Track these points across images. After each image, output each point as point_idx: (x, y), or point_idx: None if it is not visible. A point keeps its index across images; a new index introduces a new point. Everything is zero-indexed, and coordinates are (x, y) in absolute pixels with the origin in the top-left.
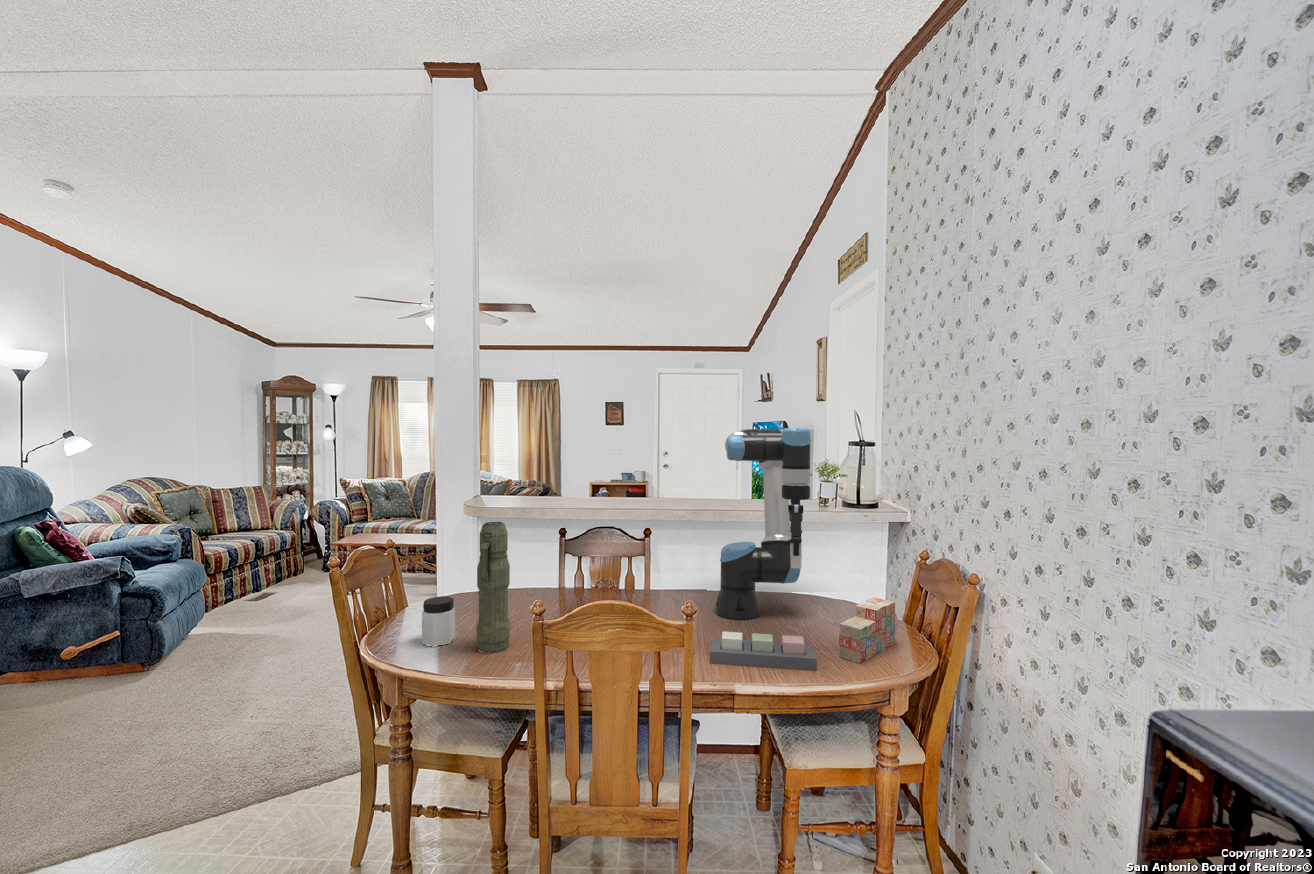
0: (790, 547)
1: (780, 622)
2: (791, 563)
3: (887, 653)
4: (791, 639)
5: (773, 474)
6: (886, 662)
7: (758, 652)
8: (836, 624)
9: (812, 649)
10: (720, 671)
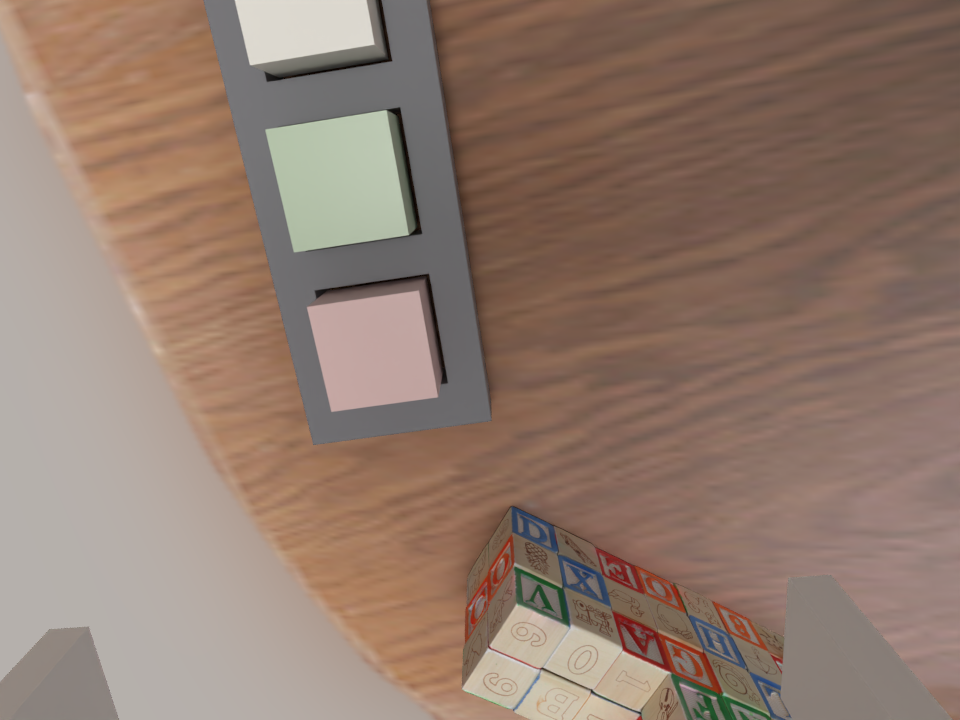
0: (872, 701)
1: (945, 213)
2: (11, 685)
3: None
4: (369, 345)
5: None
6: None
7: None
8: (947, 496)
9: (424, 424)
10: None
